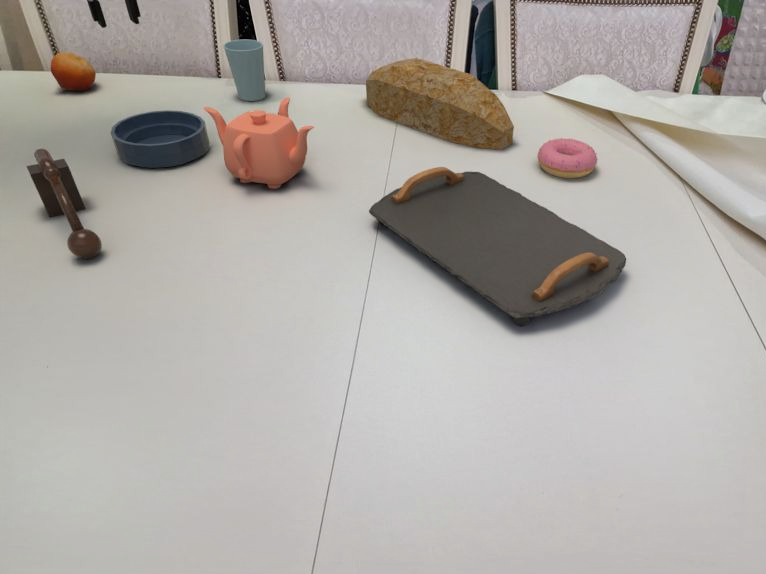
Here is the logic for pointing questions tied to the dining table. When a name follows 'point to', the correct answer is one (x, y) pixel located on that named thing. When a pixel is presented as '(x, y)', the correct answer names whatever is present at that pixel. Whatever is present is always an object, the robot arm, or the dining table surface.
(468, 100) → the bread
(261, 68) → the cup
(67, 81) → the fruit
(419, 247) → the serving tray
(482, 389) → the dining table surface
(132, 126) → the bowl
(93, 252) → the brown ball-ended stick
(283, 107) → the teapot
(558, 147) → the doughnut
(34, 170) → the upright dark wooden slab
